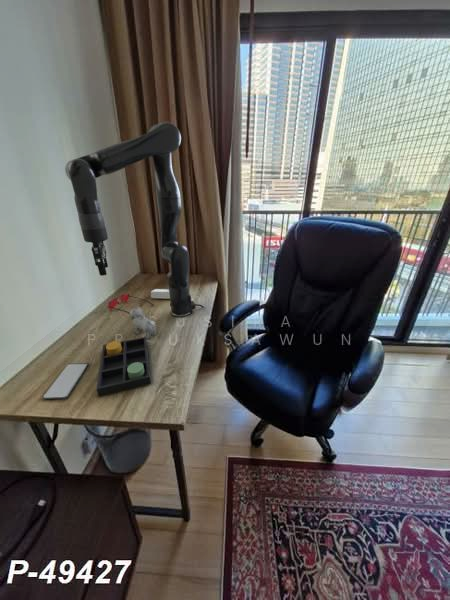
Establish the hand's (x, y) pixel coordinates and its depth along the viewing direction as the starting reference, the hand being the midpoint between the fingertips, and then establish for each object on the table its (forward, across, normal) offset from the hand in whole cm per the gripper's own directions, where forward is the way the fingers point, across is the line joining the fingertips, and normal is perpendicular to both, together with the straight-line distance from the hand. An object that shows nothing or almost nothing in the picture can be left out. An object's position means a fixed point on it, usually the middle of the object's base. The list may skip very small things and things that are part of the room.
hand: (104, 271), depth 93 cm
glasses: (+28, +21, -5) cm, 35 cm away
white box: (+28, +28, -23) cm, 46 cm away
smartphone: (+28, -23, +16) cm, 39 cm away
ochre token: (+27, -15, +1) cm, 31 cm away
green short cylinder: (+27, -30, -6) cm, 41 cm away
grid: (+28, -22, -2) cm, 36 cm away
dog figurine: (+28, -3, -10) cm, 30 cm away
